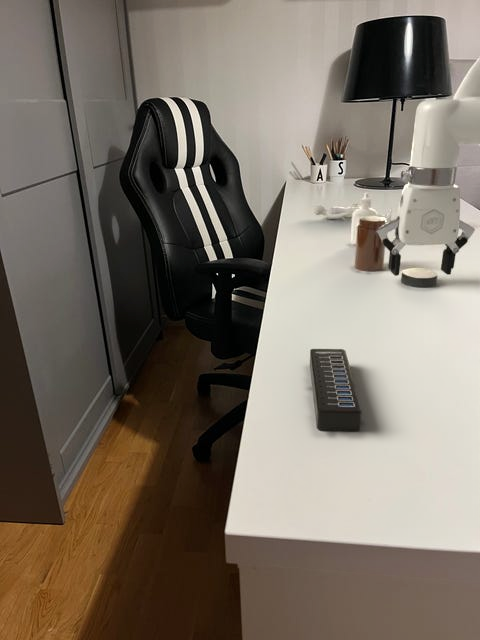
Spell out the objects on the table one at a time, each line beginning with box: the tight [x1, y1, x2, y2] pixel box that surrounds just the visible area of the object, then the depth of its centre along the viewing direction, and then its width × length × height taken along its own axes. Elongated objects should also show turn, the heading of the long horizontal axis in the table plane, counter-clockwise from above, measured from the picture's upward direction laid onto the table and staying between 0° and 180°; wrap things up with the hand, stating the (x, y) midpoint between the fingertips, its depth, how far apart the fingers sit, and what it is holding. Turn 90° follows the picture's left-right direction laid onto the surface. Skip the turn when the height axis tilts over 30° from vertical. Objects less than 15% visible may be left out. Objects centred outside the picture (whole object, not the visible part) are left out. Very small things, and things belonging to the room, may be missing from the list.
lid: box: [400, 267, 438, 288], centre depth 93 cm, size 6×6×2 cm
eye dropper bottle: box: [350, 192, 378, 246], centre depth 118 cm, size 4×6×12 cm
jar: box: [353, 216, 387, 272], centre depth 101 cm, size 6×6×10 cm
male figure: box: [313, 203, 393, 224], centre depth 145 cm, size 10×4×22 cm
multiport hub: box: [309, 348, 362, 432], centre depth 57 cm, size 4×14×2 cm, turn 176°
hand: (420, 272), depth 93 cm, fingers open, 9 cm apart
